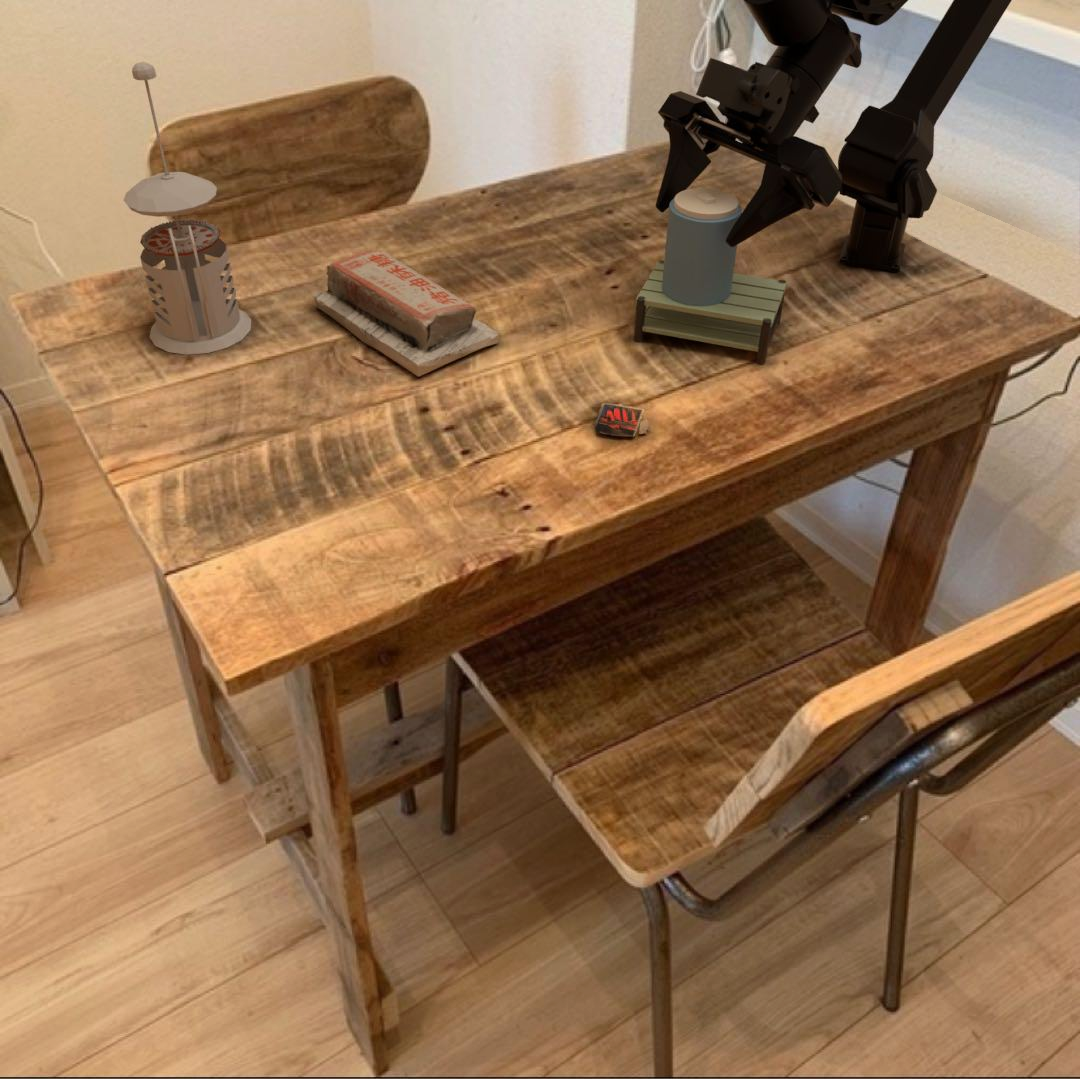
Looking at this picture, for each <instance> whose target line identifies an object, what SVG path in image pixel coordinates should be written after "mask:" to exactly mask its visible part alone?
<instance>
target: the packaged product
mask: <svg viewBox="0 0 1080 1079" xmlns="http://www.w3.org/2000/svg"><path fill="white" fill-rule="evenodd" d="M325 274H326V275H327V281H326V286H327V290H325V291H322V292H320V291H318V292H317V293H316V294H315V295H314V304H315V307H316V308H317V309H318V310H320V311H322V312H323V313H325V314H326V315H328V316H329V317H331V318H332V319H334V320H335V321H336V322H337V323H338V324H340V325H341V326H342V327H344V328H345V329H346V330H348V331H349V332H350V333H351V334H353V335H354V336H355V337H356V338H357V339H359V340H360V341H361V342H362V343H364V344H366V345H368V346H369V347H372V348H373V349H375V350H377V351H378V352H380V353H381V354H383V355H385V356H386V357H388V358H389V359H391V360H392V361H394V362H395V363H396V364H399V366H401V367H403V368H404V369H406V370H407V371H409V372H410V373H412V374H414V375H415V376H416V377H418V378H419V377H422V376H423V375H426V374H428V373H430V372H432V371H435V370H436V369H439V368H441V367H443V366H445V365H447V364H450V363H451V362H454V361H456V360H459V359H461V358H463V357H465V356H467V355H469V354H472V353H474V352H477V351H479V350H481V349H483V348H486V347H490V346H492V345H493V346H494V345H496V344H498V343H499V341H500V332H499V331H496V330H494V329H492V328H490V327H489V326H488V324H485V323H484V322H482V321H480V320H478V319H475V315H476V313H477V309H476V308H475V307H474V306H473V305H471V304H470V303H469V302H467V301H466V300H464V299H462V298H460V297H459V296H457V295H455V294H454V293H452V292H451V291H449V290H448V289H446V288H444V287H442V286H441V285H439V284H438V283H436V282H434V281H432V280H430V279H429V278H428V277H426V276H424V275H423V274H420V273H419V272H418V271H416V270H414V269H413V268H411V267H409V266H408V265H406V264H404V263H403V262H401V261H400V260H398V259H397V258H395V257H393V256H391V255H390V254H388V253H387V252H385V251H382V250H377V249H365V250H364V251H362V252H357V253H356V254H352V255H351V256H346V257H343V258H342V259H339V260H337V261H333V262H331V263H329V265H328V264H327V266H326V273H325Z"/></svg>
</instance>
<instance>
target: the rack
mask: <svg viewBox="0 0 1080 1079" xmlns="http://www.w3.org/2000/svg"><path fill="white" fill-rule="evenodd" d="M663 269H664V260H661V259H660V260H658V261H657V262H656V264H655V266H654V268H653V270H652V271H651V273H650V274H649V276H648V277H647V280H646V281H645V283H644V284H643V286H642V288H641V290H640V291H639V293H638V294H637V297H636V298H635V305H636V306H635V316H634V317H635V318H634V332H633V341H635V342H636V343H640V342H643V340H644V334H645V333H651V334H656V335H663V336H668V337H674V338H678V339H684V340H690V341H695V342H702V343H705V344H706V343H707V344H712V345H717V346H724V347H729V348H734V349H740V350H744V351H751V352H756V357H755V363H756V364H758V365H764V364H766V362H767V355H768V350H769V347H770V345H771V342H772V340H773V337H774V333H775V332H776V328H777V327H778V325H780V323H781V320H782V319H781V318H782V312H783V308H784V307H783V306H784V300H785V296H786V289H787V286H788V281H787V280H785V279H773V278H767V277H761V276H755V275H751V274H744V273H738V272H733V280H732V287H731V294H730V296H729V297H728V298H727V299H726V300H725V301H723V302H721V303H718V304H714V305H708V306H693V305H686V304H682V303H679V302H676V301H674V300H672V299H670V298H669V297H667V296H666V295H665V294H664V292H663V290H662V280H663ZM644 332H645V333H644Z"/></svg>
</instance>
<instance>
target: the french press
mask: <svg viewBox="0 0 1080 1079" xmlns="http://www.w3.org/2000/svg"><path fill="white" fill-rule="evenodd" d="M131 73H132V78H133V80H135V81H144V85H145V88H146V93H147V94H146V95H147V98H148V102H149V107H150V111H151V116H152V120H153V124H154V129H155V134H156V139H157V143H158V147H159V152H160V155H161V161H162V164H163V169H164V172H159V173H157V174H153V175H152V176H151V175H150V176H148V177H146V178H143V179H141V180H140V181H138V183H136V184H135V185H133V187H131V188H130V189H129V190H127V191H126V192H125V195H124V198H123V201H124V203H125V205H126V206H127V207H128V209H130V211H132V212H134V213H137V214H139V215H142V216H150V217H156V218H157V217H158V218H159V217H162V218H163V217H175V220H173V221H170V220H169V221H166V222H162V223H160V224H157V225H155V226H153V227H152V226H151V227H150V228H149V229H148V230H147V231H145V232H144V233H143V234H141V238H140V242H139V243H140V245H141V246H142V247H143V249H142V251H141V254H140V256H139V258H140V263H141V266H142V270H143V271H144V272H145V273H146V274H147V275H144V278H145V282H146V284H147V285H148V286H149V287H148V288H147V290H148V293H149V294H148V295H149V296H150V297H151V300H150V302H151V306H152V308H153V310H155V311H153V315H154V318H155V323H154V324H153V325H152V326H151V328H150V333H149V339H150V340H151V342H152V343H153V345H154V346H155V347H157V348H159V349H161V350H163V351H166V352H167V353H174V354H179V355H188V356H189V355H201V354H209V353H210V354H211V353H213V352H218V351H220V350H223V349H224V350H225V349H227V348H230V347H232V346H233V345H235V344H237V343H239V342H240V341H242V340H244V339H245V337H246V336H247V335H248V334H249V333H250V332H251V330H252V319H251V318H250V317H249V315H248V314H247V313H246V311H244V310H242V309H240V307H239V301H238V299H237V298H236V297H237V291H236V287H235V286H234V283H235V282H234V276H233V275H231V273H232V266H231V263H230V262H229V258H230V255H229V250H228V245H227V243H226V242H225V241H223V239H221V238H220V235H221V230H220V229H219V228H218V227H217V226H216V225H215V224H213V223H210V222H208V221H205V220H199V219H197V220H196V219H189V218H188V219H187V220H186V219H183V220H182V219H180V220H179V216H181V215H187V214H190V213H193V212H196V211H198V210H200V209H202V208H205V207H206V206H207V205H208V204H210V203H211V202H212V201H213V200H214V199H215V197H216V196H217V190H218V187H217V186H216V185H215V184H214V183H213V182H212V181H210V180H208V179H205V178H203V177H200V176H198V175H195V174H191V173H188V172H186V171H185V172H184V171H169V170H168V166H167V163H166V158H165V153H164V149H163V144H162V140H161V135H160V130H159V126H158V121H157V117H156V113H155V108H154V104H153V99H152V95H151V90H150V85H149V81H150V80H153V79H155V78H157V72H156V69H155V67H154V65H152V64H151V63H149V62H146V61H141V62H136V63H135V64H134V65H133V66H132V68H131ZM168 171H169V172H168ZM205 255H207V256H210V257H213V258H217V259H214V261H211V260H208V259H206V256H205ZM163 261H164V266H163V267H162V268H157V267H156V266H157V265H159V264H160V263H162V262H163ZM224 271H225V273H224V274H225V275H222V273H223V272H224ZM155 281H156V282H157V283H158V284H157V285H156V284H154V282H155ZM227 283H229V284H228V286H227V287H225V286H226V284H227ZM233 286H234V287H233ZM156 294H159V296H160V297H158V296H157V295H156ZM229 295H231V296H230V298H228V297H229ZM159 306H161V307H162V309H161V308H160V307H159Z"/></svg>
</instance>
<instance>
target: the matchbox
mask: <svg viewBox="0 0 1080 1079" xmlns="http://www.w3.org/2000/svg"><path fill="white" fill-rule="evenodd" d="M599 406H600V409H599V410H598V414H597V415H598V416H597V418H596V419H595V422H594V423H595V432H596V433H601V434H603V435H604V434H605V435H611V436H616V437H635V435H636V434H638V435H643V434H647V433H648V431H650V430H651V429H650V428H651V427H650V421H649V419H648V418H645V419H644V420H642V419H643V415H644V413H645V409H644V408H638V407H634V406H626V405H623V404H622V403H619V404H616V403H615V404H614V403H606V402H603V403H601V404H599ZM647 430H648V431H647ZM603 437H605V436H603ZM605 438H606V437H605Z"/></svg>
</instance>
